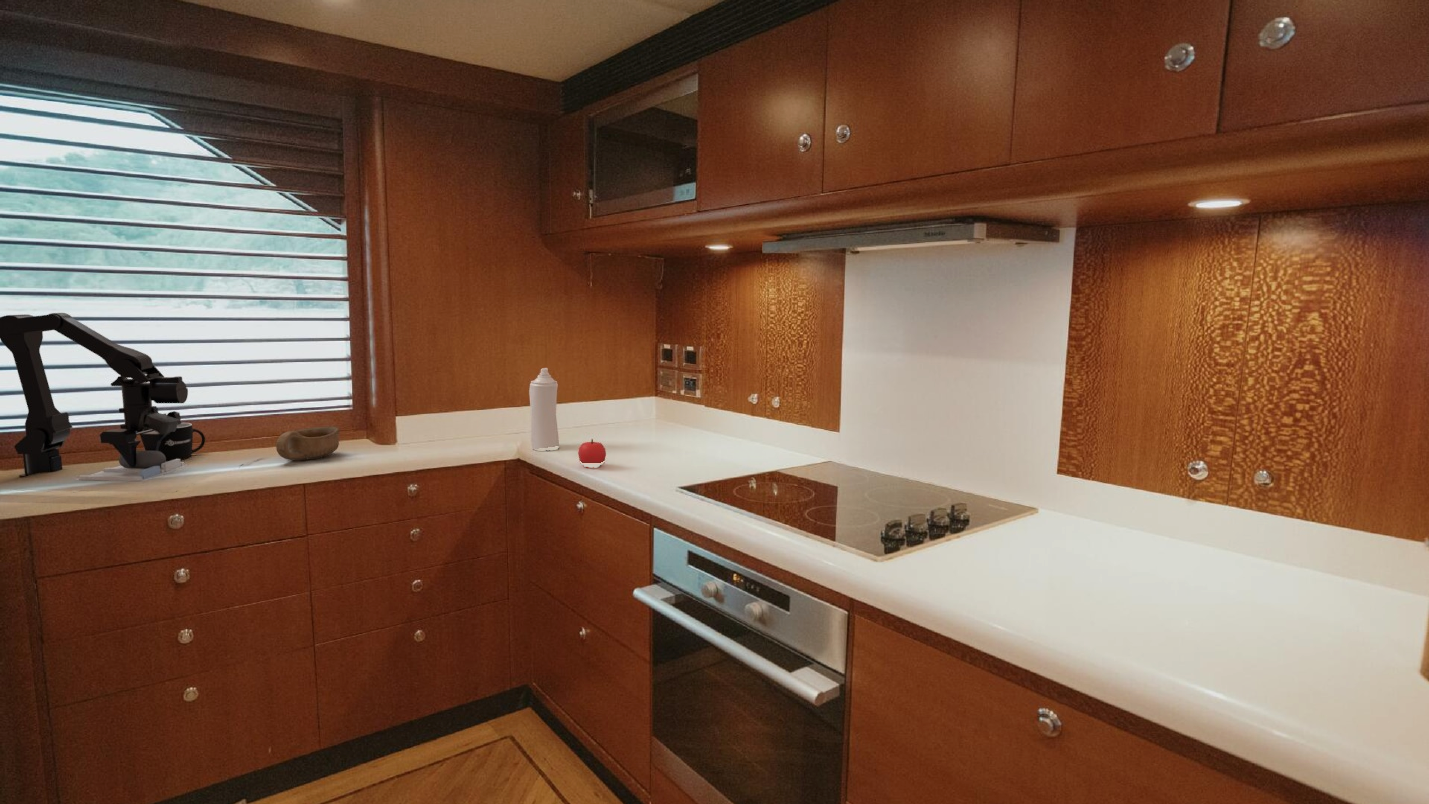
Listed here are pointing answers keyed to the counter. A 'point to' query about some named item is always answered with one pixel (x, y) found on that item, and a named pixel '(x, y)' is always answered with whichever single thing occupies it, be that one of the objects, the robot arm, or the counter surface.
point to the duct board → (134, 472)
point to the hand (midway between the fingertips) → (142, 464)
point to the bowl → (308, 443)
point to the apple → (592, 452)
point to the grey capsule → (145, 459)
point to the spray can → (543, 411)
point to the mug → (180, 443)
